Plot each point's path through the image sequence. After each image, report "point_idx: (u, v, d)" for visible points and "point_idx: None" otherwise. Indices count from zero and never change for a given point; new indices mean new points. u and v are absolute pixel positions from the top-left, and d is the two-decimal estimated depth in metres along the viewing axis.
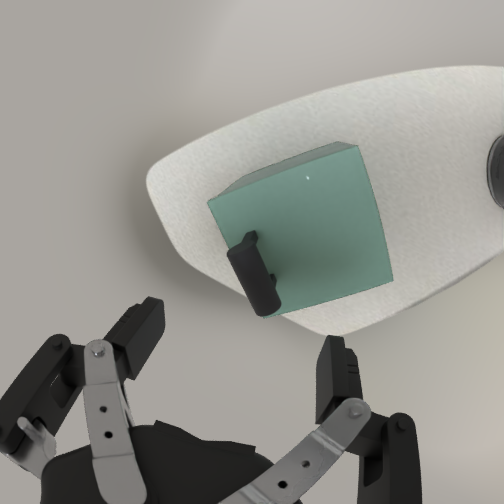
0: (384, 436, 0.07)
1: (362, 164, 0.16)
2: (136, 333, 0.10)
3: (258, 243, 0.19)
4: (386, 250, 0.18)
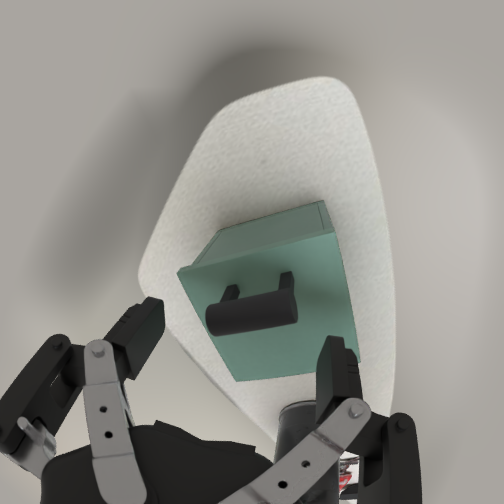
0: (384, 436, 0.07)
1: None
2: (136, 333, 0.10)
3: (277, 281, 0.16)
4: (265, 378, 0.20)
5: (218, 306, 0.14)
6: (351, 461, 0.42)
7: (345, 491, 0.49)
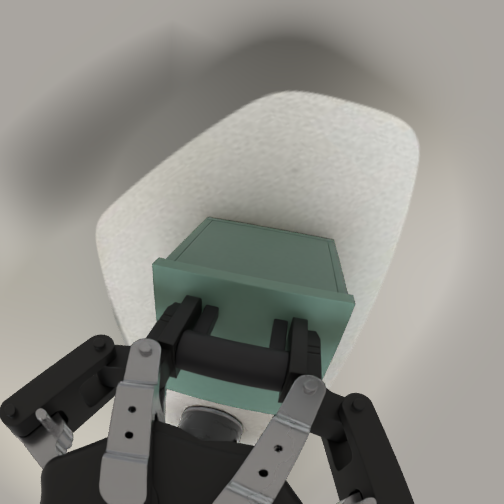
0: (339, 415, 0.08)
1: None
2: (181, 331, 0.11)
3: (266, 324, 0.14)
4: None
5: (197, 340, 0.11)
6: None
7: None
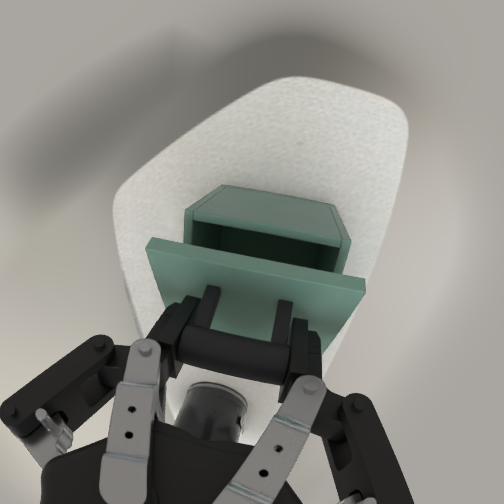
0: (339, 415, 0.08)
1: None
2: (181, 331, 0.11)
3: (270, 303, 0.13)
4: None
5: (197, 340, 0.11)
6: None
7: None
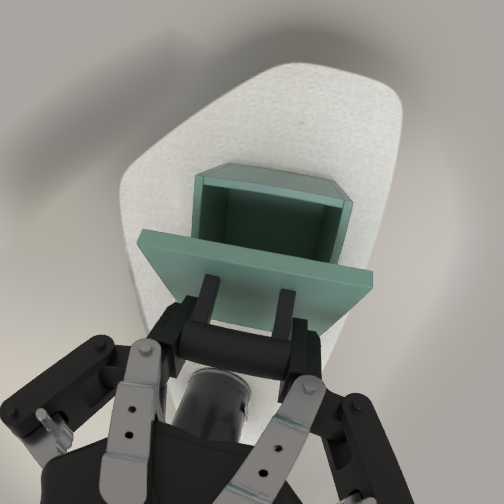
0: (339, 415, 0.08)
1: None
2: None
3: (272, 291, 0.13)
4: (218, 320, 0.20)
5: (196, 341, 0.10)
6: None
7: None
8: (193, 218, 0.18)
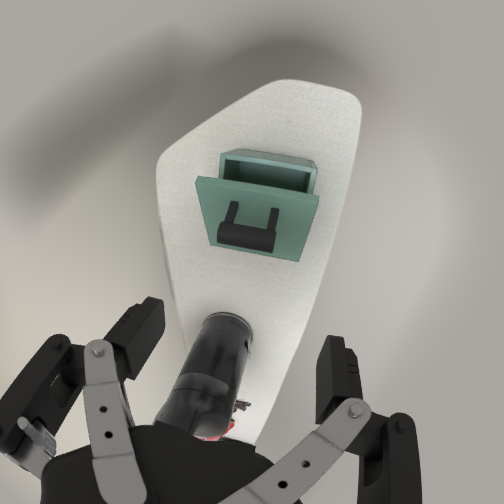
0: (384, 436, 0.07)
1: (287, 259, 0.31)
2: (136, 333, 0.10)
3: (267, 210, 0.23)
4: None
5: (227, 228, 0.21)
6: (240, 404, 0.57)
7: None
8: None
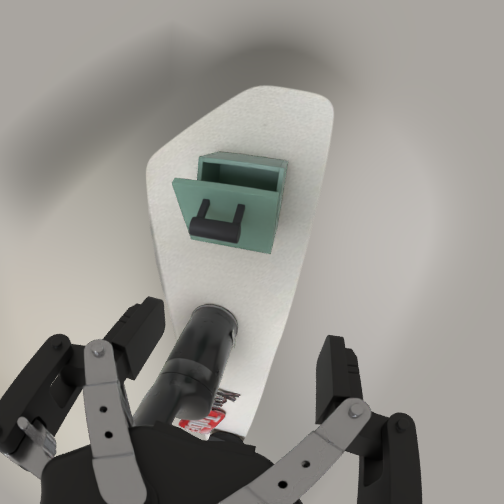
0: (384, 436, 0.07)
1: (260, 251, 0.34)
2: (136, 333, 0.10)
3: (234, 206, 0.26)
4: (211, 242, 0.34)
5: (197, 222, 0.24)
6: (230, 395, 0.61)
7: (214, 434, 0.69)
8: None
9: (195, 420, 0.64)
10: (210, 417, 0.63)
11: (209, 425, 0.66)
